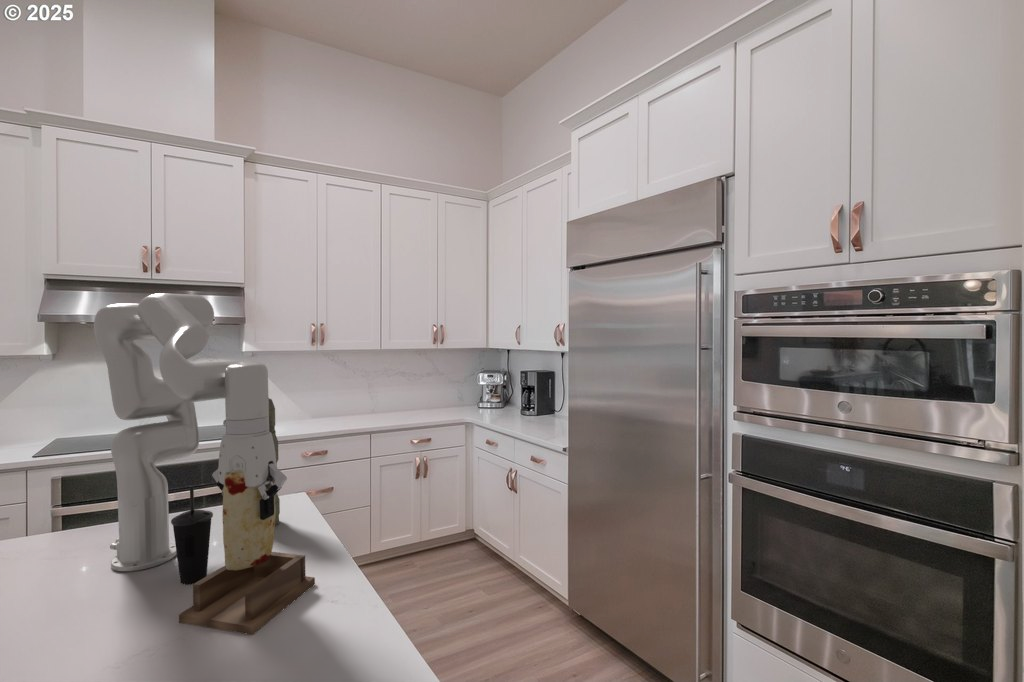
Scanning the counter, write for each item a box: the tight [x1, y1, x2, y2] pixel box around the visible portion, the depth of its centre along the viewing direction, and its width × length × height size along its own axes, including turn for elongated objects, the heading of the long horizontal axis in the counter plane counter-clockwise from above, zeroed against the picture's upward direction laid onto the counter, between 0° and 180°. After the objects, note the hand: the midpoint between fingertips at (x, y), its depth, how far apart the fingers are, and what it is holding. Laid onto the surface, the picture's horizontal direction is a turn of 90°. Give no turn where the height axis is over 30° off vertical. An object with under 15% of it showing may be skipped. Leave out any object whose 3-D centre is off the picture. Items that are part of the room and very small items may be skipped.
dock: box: [178, 551, 316, 636], centre depth 101 cm, size 16×18×6 cm
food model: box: [222, 470, 276, 570], centre depth 100 cm, size 10×7×20 cm
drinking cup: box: [170, 486, 214, 586], centre depth 110 cm, size 8×8×20 cm
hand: (249, 515), depth 100 cm, fingers closed on food model, 7 cm apart
